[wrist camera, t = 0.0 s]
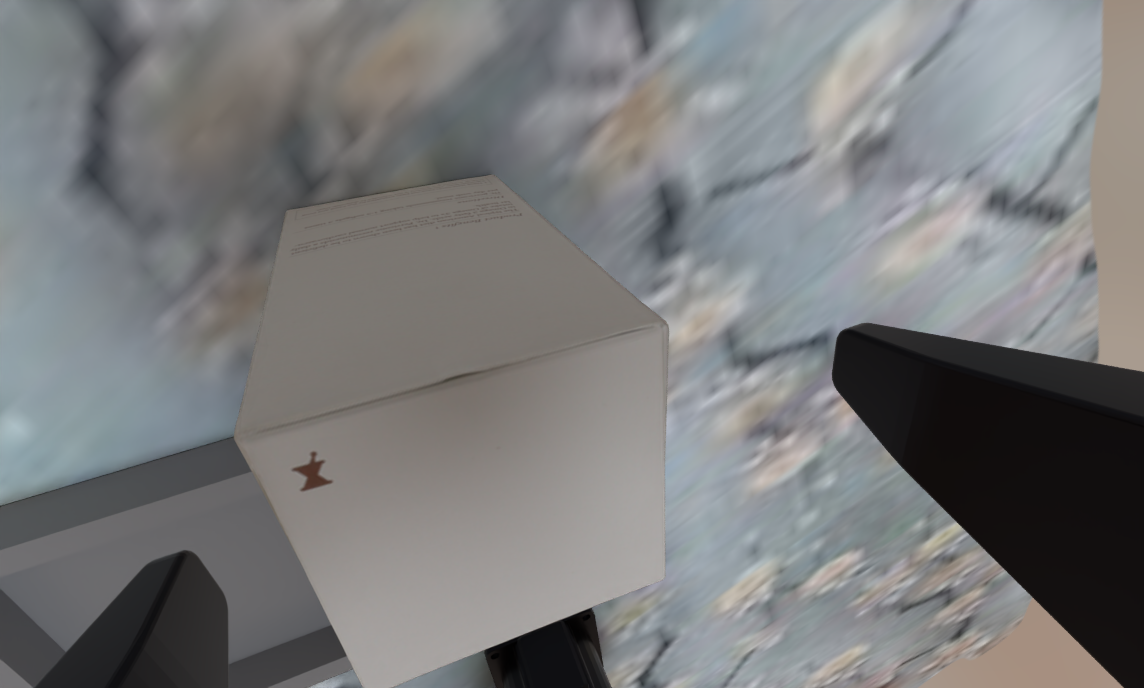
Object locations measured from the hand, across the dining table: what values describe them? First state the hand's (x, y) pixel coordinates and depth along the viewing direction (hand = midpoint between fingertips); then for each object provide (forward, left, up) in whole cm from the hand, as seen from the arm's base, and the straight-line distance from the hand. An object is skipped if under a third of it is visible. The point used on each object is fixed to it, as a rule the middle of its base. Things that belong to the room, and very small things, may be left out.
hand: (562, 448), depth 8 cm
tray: (-13, +13, -15) cm, 24 cm away
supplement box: (-3, +1, -15) cm, 15 cm away
